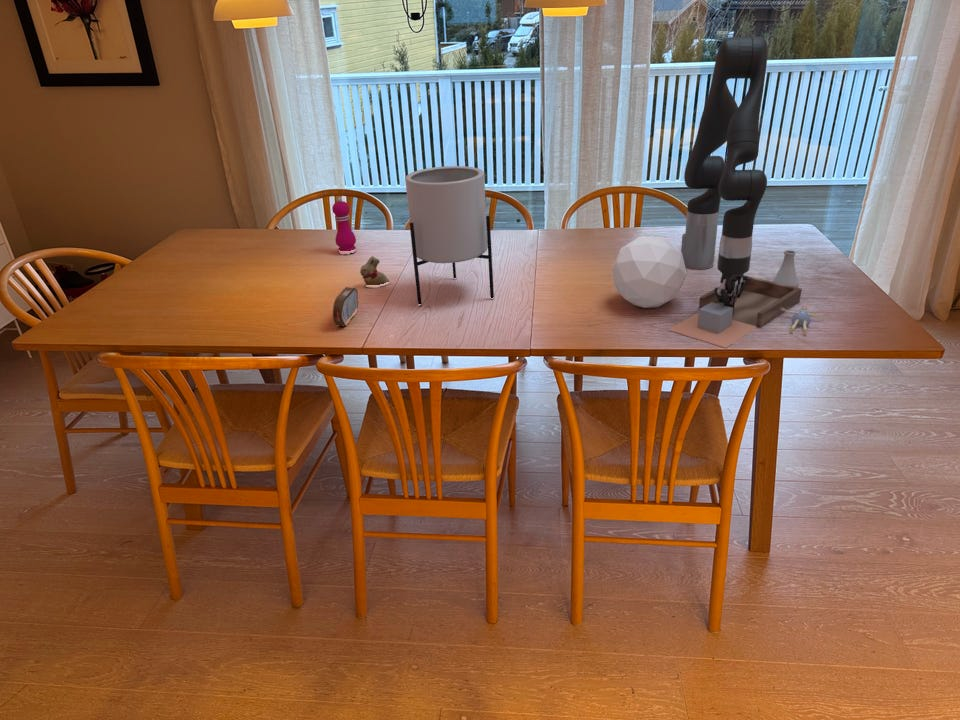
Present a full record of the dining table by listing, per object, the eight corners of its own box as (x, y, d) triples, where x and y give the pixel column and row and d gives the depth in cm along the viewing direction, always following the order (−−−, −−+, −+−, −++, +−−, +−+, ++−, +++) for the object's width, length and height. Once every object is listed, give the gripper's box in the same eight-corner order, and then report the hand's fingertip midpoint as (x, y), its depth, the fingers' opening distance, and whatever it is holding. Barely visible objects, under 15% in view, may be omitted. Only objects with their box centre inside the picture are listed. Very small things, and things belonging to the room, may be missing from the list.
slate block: (697, 327, 176) (699, 309, 174) (709, 319, 180) (711, 302, 177) (718, 333, 172) (720, 315, 170) (731, 325, 176) (733, 307, 173)
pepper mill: (341, 249, 252) (332, 194, 243) (360, 249, 251) (352, 194, 242) (334, 255, 246) (325, 200, 237) (354, 255, 245) (346, 199, 236)
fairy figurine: (774, 319, 170) (781, 297, 179) (772, 336, 173) (779, 313, 182) (825, 326, 165) (830, 303, 174) (822, 343, 168) (827, 319, 176)
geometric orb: (664, 328, 193) (707, 285, 177) (601, 312, 187) (639, 267, 172) (656, 276, 203) (696, 231, 188) (596, 259, 198) (631, 212, 182)
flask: (801, 289, 194) (806, 256, 190) (773, 289, 196) (778, 255, 191) (796, 280, 201) (801, 247, 196) (769, 280, 202) (774, 247, 198)
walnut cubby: (698, 310, 186) (699, 297, 184) (739, 287, 198) (741, 274, 196) (760, 328, 174) (762, 313, 172) (799, 302, 187) (801, 288, 185)
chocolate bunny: (367, 282, 220) (363, 252, 215) (391, 282, 218) (387, 252, 214) (361, 288, 215) (357, 257, 211) (385, 289, 214) (381, 258, 209)
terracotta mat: (668, 330, 176) (668, 329, 176) (700, 311, 185) (701, 310, 185) (725, 348, 165) (726, 347, 165) (757, 327, 174) (757, 326, 174)
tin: (351, 309, 201) (347, 282, 197) (361, 309, 200) (357, 282, 196) (334, 331, 187) (329, 302, 184) (345, 331, 187) (340, 302, 183)
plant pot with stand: (441, 276, 220) (431, 163, 204) (510, 285, 210) (505, 166, 194) (402, 304, 202) (387, 182, 185) (475, 315, 192) (466, 186, 175)
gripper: (734, 242, 177) (727, 304, 185) (707, 256, 169) (701, 320, 177) (762, 247, 172) (754, 311, 180) (735, 262, 164) (728, 328, 172)
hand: (727, 315), depth 178 cm, fingers closed
